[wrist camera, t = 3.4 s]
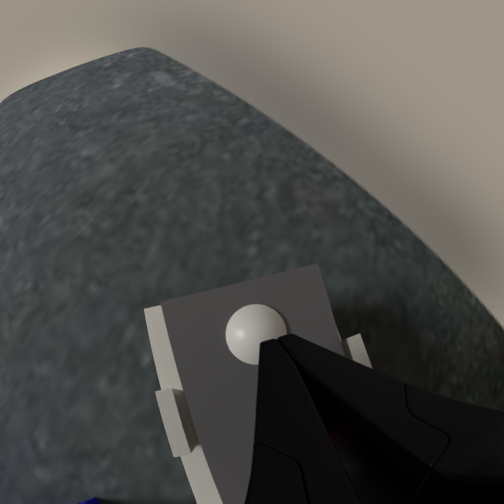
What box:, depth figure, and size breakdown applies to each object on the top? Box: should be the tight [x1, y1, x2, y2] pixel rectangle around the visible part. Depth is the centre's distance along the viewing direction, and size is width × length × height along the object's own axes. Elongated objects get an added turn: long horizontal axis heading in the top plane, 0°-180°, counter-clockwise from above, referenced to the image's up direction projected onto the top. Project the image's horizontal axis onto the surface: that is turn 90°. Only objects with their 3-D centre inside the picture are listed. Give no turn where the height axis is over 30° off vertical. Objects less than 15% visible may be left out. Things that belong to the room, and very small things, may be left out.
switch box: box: [144, 305, 372, 504], centre depth 14 cm, size 10×8×9 cm
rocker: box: [160, 263, 344, 504], centre depth 10 cm, size 8×6×1 cm, turn 15°
